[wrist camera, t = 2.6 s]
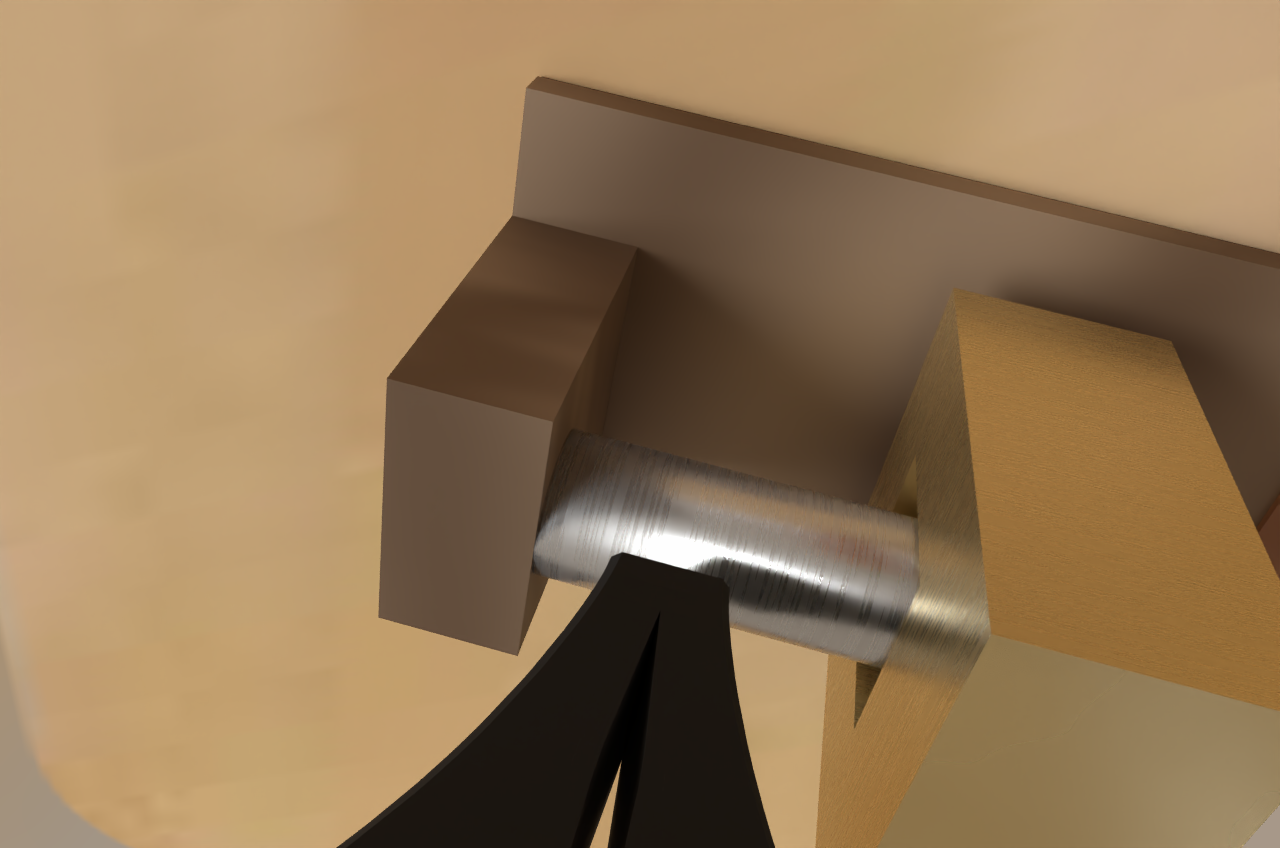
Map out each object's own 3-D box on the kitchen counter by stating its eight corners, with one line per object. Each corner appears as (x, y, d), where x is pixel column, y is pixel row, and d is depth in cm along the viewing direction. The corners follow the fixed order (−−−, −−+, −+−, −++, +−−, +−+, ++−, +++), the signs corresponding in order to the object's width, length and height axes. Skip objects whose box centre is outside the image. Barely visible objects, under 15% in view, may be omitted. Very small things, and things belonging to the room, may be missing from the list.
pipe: (1807, 707, 13) (1952, 863, 11) (1677, 809, 14) (1789, 963, 13) (445, 354, 14) (381, 444, 12) (436, 477, 16) (377, 575, 14)
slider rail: (1802, 379, 14) (2221, 680, 10) (1443, 743, 19) (1614, 1062, 14) (537, 75, 15) (392, 220, 11) (490, 489, 20) (374, 710, 16)
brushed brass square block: (1171, 341, 14) (1347, 729, 9) (1006, 640, 18) (1057, 1053, 12) (952, 287, 14) (991, 634, 9) (832, 594, 18) (806, 979, 12)
